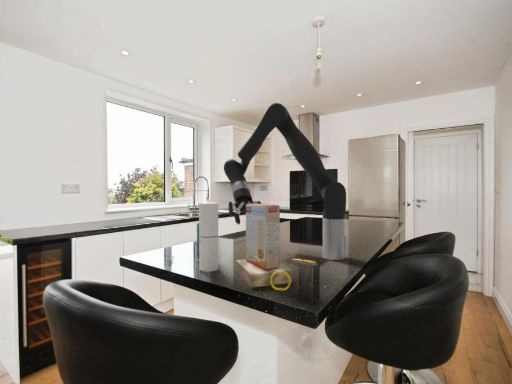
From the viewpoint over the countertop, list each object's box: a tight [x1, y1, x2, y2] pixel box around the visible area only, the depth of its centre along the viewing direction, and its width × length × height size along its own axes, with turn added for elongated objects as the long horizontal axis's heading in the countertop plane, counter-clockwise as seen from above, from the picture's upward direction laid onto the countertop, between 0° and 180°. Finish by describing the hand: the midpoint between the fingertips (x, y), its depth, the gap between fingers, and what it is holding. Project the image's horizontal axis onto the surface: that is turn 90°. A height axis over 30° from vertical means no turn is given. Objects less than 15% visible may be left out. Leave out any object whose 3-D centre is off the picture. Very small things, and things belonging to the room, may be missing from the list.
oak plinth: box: [235, 258, 293, 288], centre depth 93 cm, size 14×18×4 cm
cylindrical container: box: [198, 202, 220, 273], centre depth 102 cm, size 7×7×25 cm
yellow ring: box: [270, 269, 291, 291], centre depth 81 cm, size 6×3×6 cm, turn 80°
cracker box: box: [245, 203, 281, 270], centre depth 94 cm, size 14×6×21 cm, turn 30°
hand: (249, 222), depth 106 cm, fingers open, 8 cm apart
